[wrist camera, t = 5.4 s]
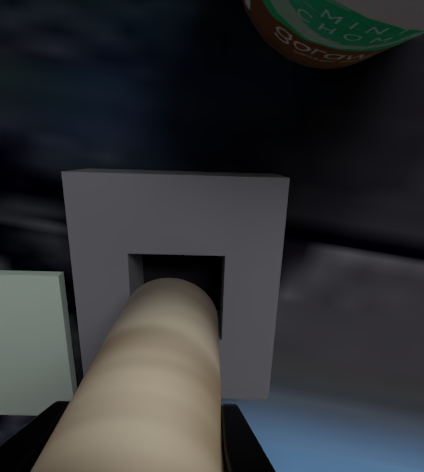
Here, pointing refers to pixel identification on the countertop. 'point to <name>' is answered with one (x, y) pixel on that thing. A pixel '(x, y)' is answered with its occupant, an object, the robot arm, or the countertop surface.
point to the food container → (335, 28)
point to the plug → (148, 391)
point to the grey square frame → (181, 243)
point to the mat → (34, 342)
